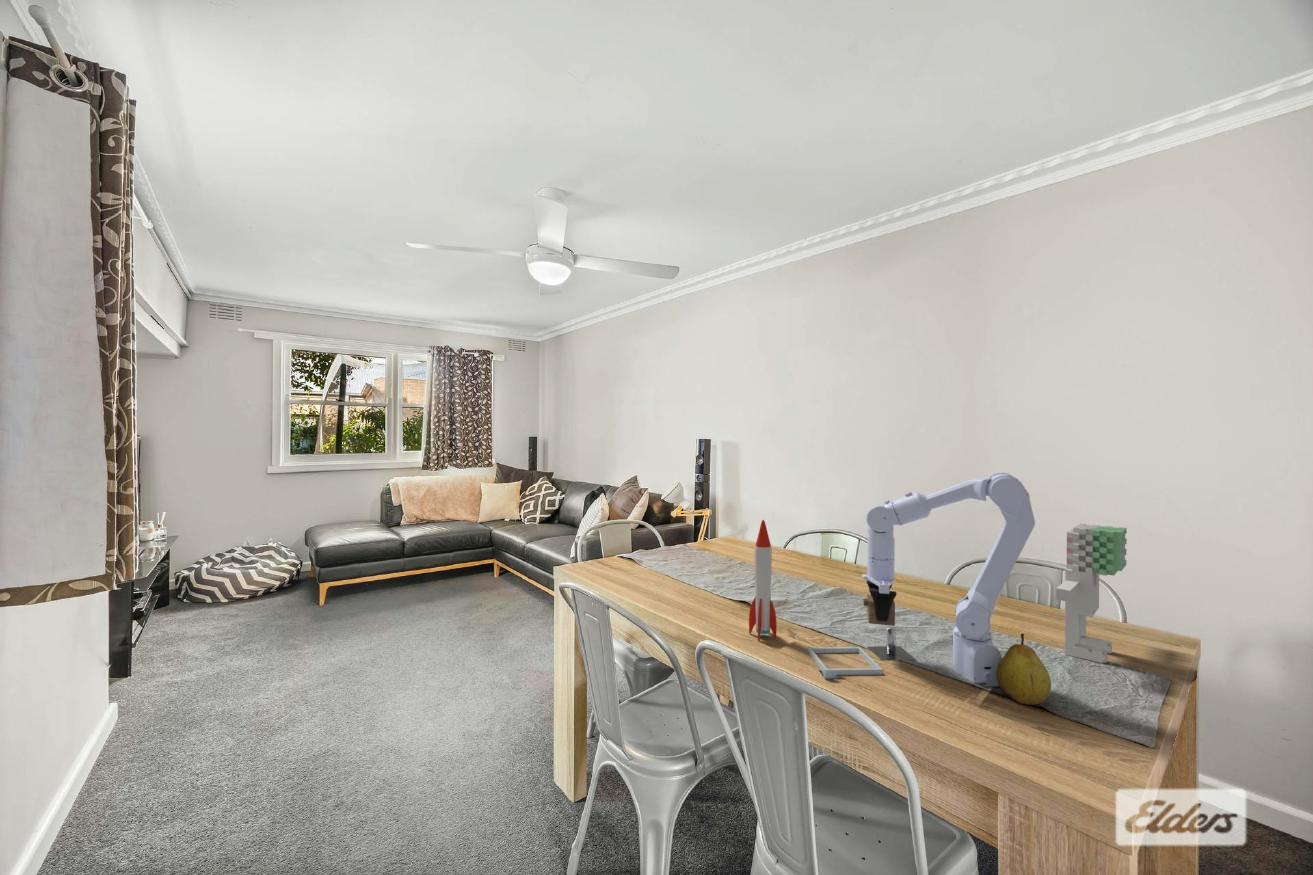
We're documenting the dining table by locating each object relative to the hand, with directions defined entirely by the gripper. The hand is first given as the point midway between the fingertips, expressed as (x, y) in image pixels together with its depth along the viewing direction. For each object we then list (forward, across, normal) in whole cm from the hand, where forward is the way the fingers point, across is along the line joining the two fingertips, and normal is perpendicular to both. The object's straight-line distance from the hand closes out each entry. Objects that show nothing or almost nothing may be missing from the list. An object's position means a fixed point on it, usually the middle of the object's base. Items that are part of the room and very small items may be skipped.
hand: (880, 616), depth 126 cm
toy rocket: (+10, -7, -28) cm, 30 cm away
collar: (+1, 0, 0) cm, 1 cm away
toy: (+10, -17, +49) cm, 53 cm away
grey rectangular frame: (+10, +7, -8) cm, 15 cm away
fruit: (+10, +12, +25) cm, 29 cm away
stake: (+10, -2, +2) cm, 10 cm away
